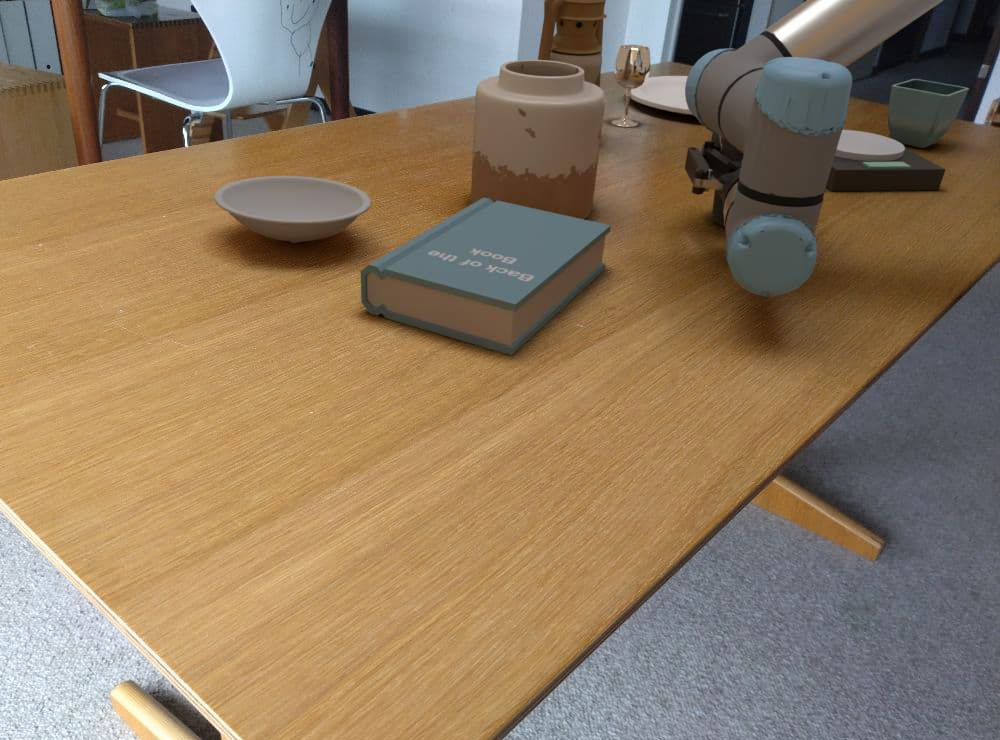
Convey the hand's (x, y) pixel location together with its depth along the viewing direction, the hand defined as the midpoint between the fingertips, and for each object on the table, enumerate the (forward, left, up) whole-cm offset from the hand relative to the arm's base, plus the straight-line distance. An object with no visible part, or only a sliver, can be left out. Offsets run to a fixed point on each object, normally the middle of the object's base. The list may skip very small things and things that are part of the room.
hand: (749, 146), depth 108 cm
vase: (+2, +27, -8) cm, 28 cm away
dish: (-8, +56, -8) cm, 57 cm away
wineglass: (+42, +3, -8) cm, 42 cm away
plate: (+54, -15, -8) cm, 56 cm away
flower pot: (+30, -42, -8) cm, 52 cm away
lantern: (+31, +16, -8) cm, 35 cm away
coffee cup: (-4, +2, -8) cm, 9 cm away
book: (-22, +36, -8) cm, 43 cm away
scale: (+17, -24, -8) cm, 31 cm away
